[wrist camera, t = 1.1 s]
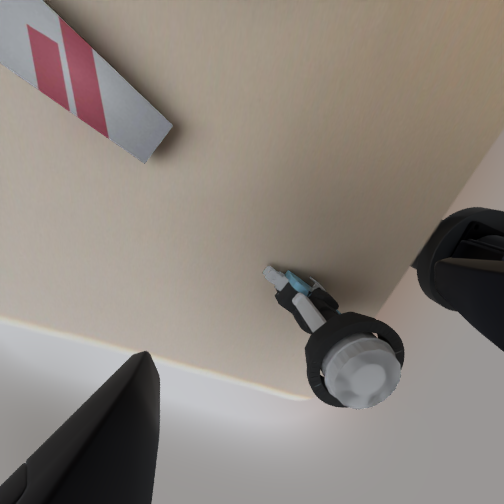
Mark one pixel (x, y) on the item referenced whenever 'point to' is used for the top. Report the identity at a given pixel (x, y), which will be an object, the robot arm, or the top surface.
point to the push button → (341, 345)
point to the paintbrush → (77, 76)
